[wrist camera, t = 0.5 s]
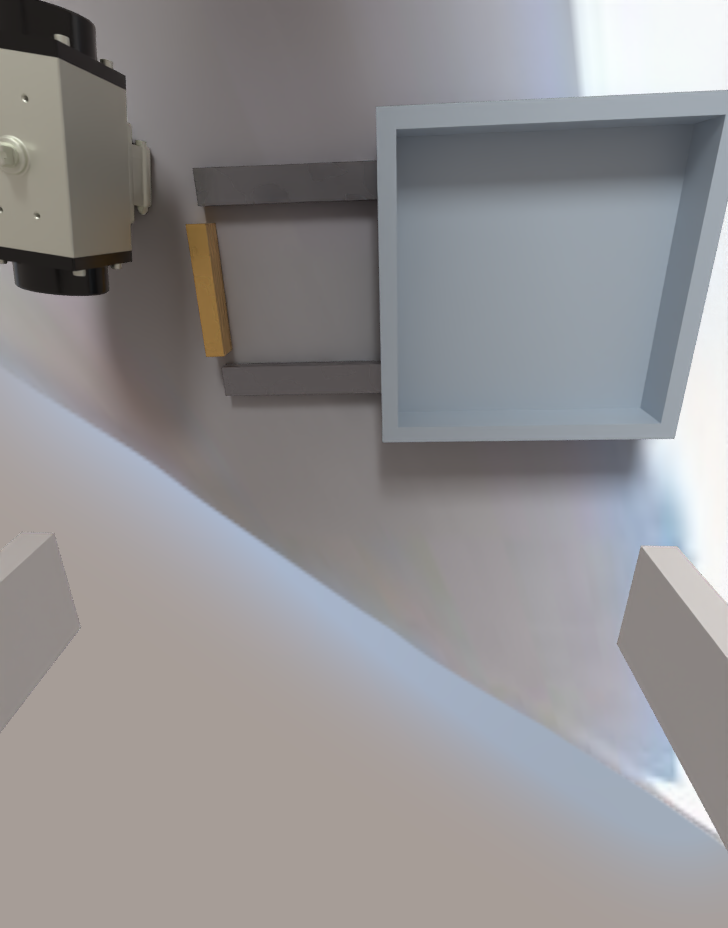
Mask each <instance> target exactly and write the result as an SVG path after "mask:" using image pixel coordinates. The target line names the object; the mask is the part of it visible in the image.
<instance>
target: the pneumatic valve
mask: <svg viewBox="0 0 728 928" xmlns="http://www.w3.org/2000/svg"><path fill="white" fill-rule="evenodd" d="M134 205H137V207H138V211H140V214H146V212H148V208H149V206H151V166H150V149H149V148H147V146H146V142H144V141H139V140H136V144H135V145H133V144H132V129H131V124H130V123H127V106H126V78H125V75H123V74H121V73H119V72H117V71H115V70H113V63H112V61H109V60H106V59H100V62H98V61H97V48H96V29H95V26H94V24H93V23H92V22H91V21H90V20H88V19H86V18H85V17H83V16H81V15H79V14H77V13H75V12H72V11H70V10H67V9H65V8H62V7H59V6H57V5H54V4H51V3H47V2H44V1H41V0H0V264H6V263H7V261H11V262H12V263H13V271H14V279H15V284H16V285H17V286H18V287H20V288H22V289H25V290H29V291H33V292H39V293H45V294H54V295H67V296H92V295H101V294H105V293H107V292H108V291H109V275H108V266H109V265H110V267H111V268H112V269H121V263H127V262H132V251H131V250H132V249H131V223H134Z"/></svg>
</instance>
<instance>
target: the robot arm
mask: <svg viewBox="0 0 728 928" xmlns="http://www.w3.org/2000/svg"><path fill="white" fill-rule="evenodd" d="M80 628H81V627H80V623H79V619H78V616H77V613H76V609H75V605H74V602H73V598H72V595H71V591H70V587H69V584H68V580H67V577H66V573H65V570H64V566H63V563H62V559H61V555H60V552H59V548H58V545H57V541H56V537H55V534H54V533H36V532H21V533H20V534H19V535H18V536H17V537H15V538H14V539H13V540H12V541H11V542H9V544H7V545H6V546H5V547H3V548H2V549H1V550H0V733H1V731H2V730H3V729H4V727H5V726H6V725H7V723H8V722H9V721H10V719H11V718H12V717H13V716H14V714H15V713H16V712H17V710H18V709H19V708H20V707H21V705H22V704H23V702H24V701H25V700H26V699H27V697H28V696H29V695H30V693H31V692H32V691H33V689H34V688H35V687H36V686H37V684H38V683H39V682H40V680H41V679H42V678H43V676H44V675H45V674H46V673H47V671H48V670H49V669H50V667H51V666H52V665H53V663H54V662H55V661H56V660H57V658H58V657H59V656H60V654H61V653H62V652H63V650H64V649H65V648H66V646H67V645H68V644H69V643H70V641H71V640H72V639H73V637H74V636H75V634H76V633H77V632H78V631H79V629H80ZM617 645H618V647H619V648H620V650H621V652H622V654H623V656H624V658H625V660H626V662H627V663H628V665H629V667H630V669H631V671H632V673H633V675H634V677H635V678H636V680H637V682H638V684H639V686H640V688H641V690H642V692H643V693H644V695H645V697H646V699H647V701H648V703H649V705H650V707H651V708H652V710H653V712H654V714H655V716H656V718H657V720H658V722H659V723H660V725H661V727H662V729H663V731H664V733H665V735H666V737H667V738H668V740H669V742H670V744H671V746H672V748H673V750H674V752H675V753H676V755H677V757H678V759H679V761H680V763H681V765H682V767H683V768H684V770H685V772H686V774H687V776H688V778H689V780H690V782H691V783H692V785H693V787H694V789H695V791H696V793H697V795H698V797H699V798H700V800H701V802H702V804H703V806H704V808H705V810H706V812H707V813H708V815H709V817H710V819H711V821H712V823H713V825H714V826H715V828H716V830H717V832H718V834H719V836H720V838H721V840H722V841H723V843H724V845H725V847H726V849H727V851H728V604H727V603H726V602H725V601H724V599H723V598H722V597H721V596H720V595H719V594H718V593H717V591H716V590H715V589H714V588H713V587H712V586H711V585H710V584H709V582H708V581H707V580H706V579H705V578H704V577H703V576H702V574H701V573H700V572H699V571H698V570H697V569H696V568H695V566H694V565H693V564H692V563H691V562H690V561H689V560H688V558H687V557H686V556H685V555H684V554H683V553H682V552H681V550H680V549H679V548H678V547H676V546H641V548H640V552H639V556H638V560H637V564H636V568H635V572H634V576H633V580H632V584H631V589H630V593H629V597H628V601H627V605H626V609H625V613H624V617H623V621H622V625H621V629H620V634H619V638H618V642H617Z"/></svg>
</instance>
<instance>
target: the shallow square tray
mask: <svg viewBox="0 0 728 928" xmlns="http://www.w3.org/2000/svg"><path fill="white" fill-rule="evenodd" d="M376 139H377V190H378V241H379V291H380V342H381V393H382V442H455V441H535V440H614V439H674V438H675V434H676V429H677V425H678V420H679V416H680V412H681V407H682V403H683V398H684V394H685V389H686V385H687V380H688V376H689V371H690V367H691V362H692V358H693V353H694V349H695V345H696V340H697V336H698V331H699V327H700V322H701V318H702V313H703V309H704V304H705V300H706V295H707V291H708V286H709V282H710V278H711V273H712V269H713V264H714V260H715V255H716V251H717V246H718V242H719V237H720V233H721V228H722V224H723V219H724V215H725V210H726V206H727V202H728V90H716V91H694V92H673V93H652V94H631V95H610V96H589V97H568V98H546V99H525V100H504V101H483V102H462V103H441V104H420V105H398V106H377V107H376Z"/></svg>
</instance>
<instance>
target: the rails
mask: <svg viewBox="0 0 728 928" xmlns="http://www.w3.org/2000/svg"><path fill="white" fill-rule="evenodd" d="M193 174H194V181H195V187H196V194H197V201H198V206H218V205H245V204H271V203H298V202H324V201H351V200H377V199H378V190H377V161H356V162H332V163H308V164H284V165H260V166H236V167H212V168H193ZM186 230H187V237H188V243H189V249H190V256H191V262H192V269H193V275H194V282H195V288H196V294H197V301H198V307H199V314H200V320H201V326H202V333H203V339H204V346H205V352H206V357H218V356H225V355H226V354H228V353H229V352H230V351H231V350H232V344H231V337H230V329H229V322H228V314H227V307H226V300H225V292H224V285H223V277H222V270H221V263H220V255H219V248H218V240H217V233H216V225H215V223H208V224H186ZM222 373H223V380H224V387H225V394H226V396H236V395H293V394H349V393H381V361H344V362H296V363H249V364H225V365H224V366H223V367H222Z"/></svg>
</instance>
